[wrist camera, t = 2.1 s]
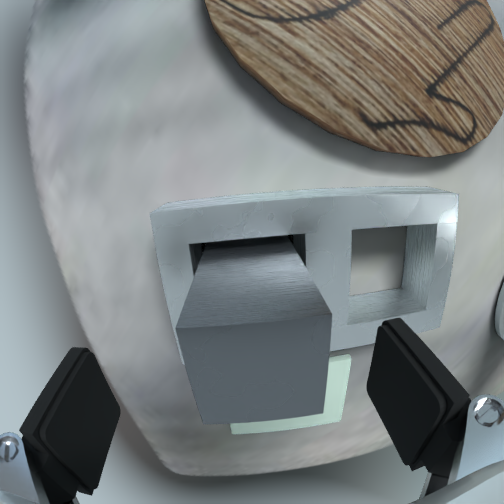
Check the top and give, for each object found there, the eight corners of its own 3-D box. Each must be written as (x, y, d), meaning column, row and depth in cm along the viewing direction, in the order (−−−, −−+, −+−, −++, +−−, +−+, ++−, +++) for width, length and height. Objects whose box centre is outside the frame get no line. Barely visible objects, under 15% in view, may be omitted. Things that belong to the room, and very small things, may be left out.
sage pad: (349, 353, 20) (351, 358, 20) (338, 416, 23) (340, 421, 22) (219, 369, 20) (218, 374, 20) (232, 429, 23) (232, 434, 22)
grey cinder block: (427, 186, 17) (458, 194, 13) (416, 304, 19) (439, 327, 16) (167, 202, 16) (149, 213, 13) (190, 332, 19) (182, 364, 16)
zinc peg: (283, 229, 17) (332, 314, 8) (286, 295, 19) (323, 413, 9) (209, 235, 17) (175, 328, 8) (218, 301, 19) (203, 424, 9)
